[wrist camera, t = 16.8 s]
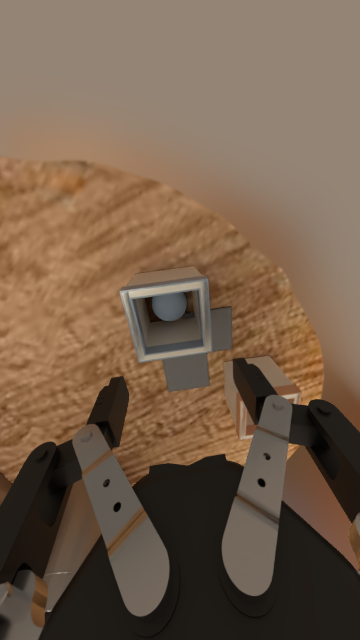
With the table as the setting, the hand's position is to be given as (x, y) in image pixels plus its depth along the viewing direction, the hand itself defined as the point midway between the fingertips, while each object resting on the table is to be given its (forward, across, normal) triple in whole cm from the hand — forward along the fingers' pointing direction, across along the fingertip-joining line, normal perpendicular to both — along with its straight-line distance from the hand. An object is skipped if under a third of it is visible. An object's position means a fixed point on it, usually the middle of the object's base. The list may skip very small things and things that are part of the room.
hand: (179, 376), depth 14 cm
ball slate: (+14, 0, -2) cm, 14 cm away
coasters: (+14, -3, +8) cm, 16 cm away
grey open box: (+14, -11, +14) cm, 23 cm away
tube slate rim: (+14, 0, -2) cm, 14 cm away
